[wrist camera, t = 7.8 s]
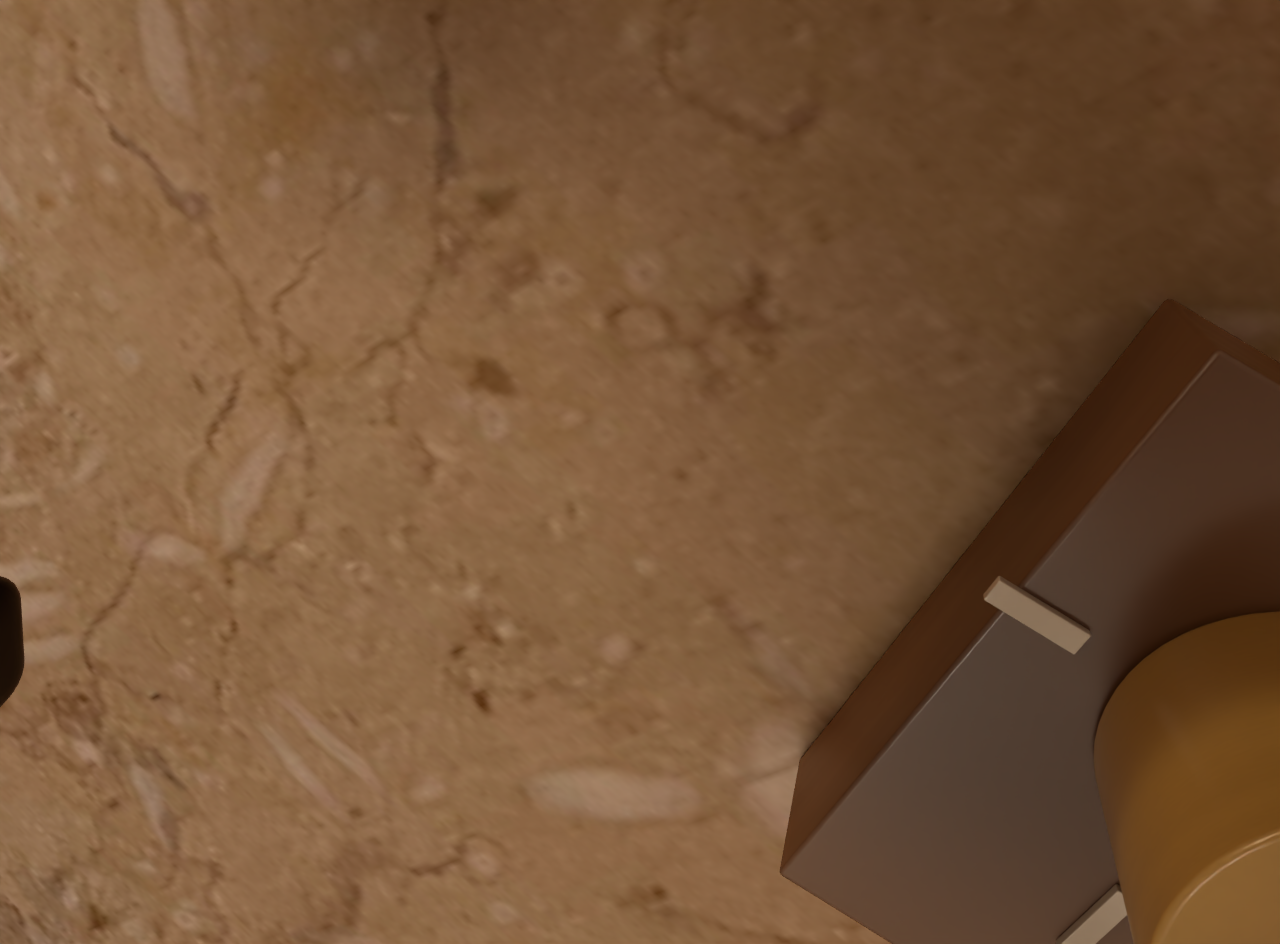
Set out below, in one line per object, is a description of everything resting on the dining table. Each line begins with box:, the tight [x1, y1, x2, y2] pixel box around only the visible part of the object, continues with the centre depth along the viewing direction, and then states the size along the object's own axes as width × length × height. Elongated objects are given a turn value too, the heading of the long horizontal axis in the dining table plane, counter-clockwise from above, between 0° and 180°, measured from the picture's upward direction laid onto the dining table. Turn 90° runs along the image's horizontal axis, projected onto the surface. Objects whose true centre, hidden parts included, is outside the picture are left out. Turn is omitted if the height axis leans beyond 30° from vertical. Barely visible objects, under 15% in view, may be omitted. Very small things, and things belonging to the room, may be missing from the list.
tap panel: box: [780, 299, 1280, 944], centre depth 16 cm, size 10×10×3 cm
